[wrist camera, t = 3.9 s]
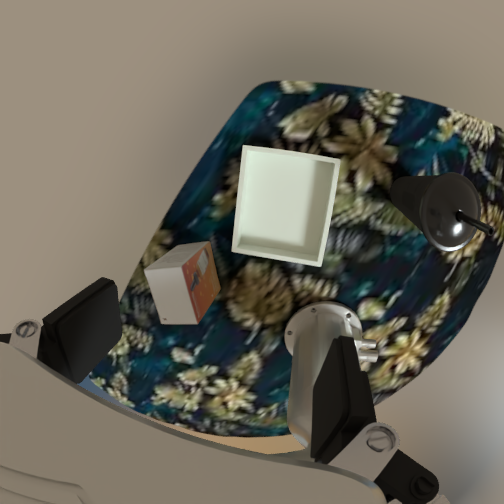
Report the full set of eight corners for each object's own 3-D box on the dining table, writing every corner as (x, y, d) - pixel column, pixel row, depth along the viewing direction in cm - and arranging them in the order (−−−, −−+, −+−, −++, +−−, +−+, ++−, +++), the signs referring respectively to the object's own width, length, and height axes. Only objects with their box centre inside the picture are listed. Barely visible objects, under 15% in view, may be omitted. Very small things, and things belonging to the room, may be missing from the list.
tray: (337, 159, 33) (340, 159, 30) (319, 258, 38) (321, 266, 35) (247, 146, 35) (242, 145, 32) (236, 244, 39) (231, 251, 37)
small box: (221, 288, 42) (199, 326, 32) (189, 290, 43) (161, 325, 34) (210, 239, 40) (181, 266, 30) (177, 243, 41) (142, 269, 31)
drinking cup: (400, 231, 34) (473, 296, 16) (370, 188, 33) (438, 221, 15) (436, 199, 32) (527, 239, 13) (408, 155, 31) (499, 160, 12)
